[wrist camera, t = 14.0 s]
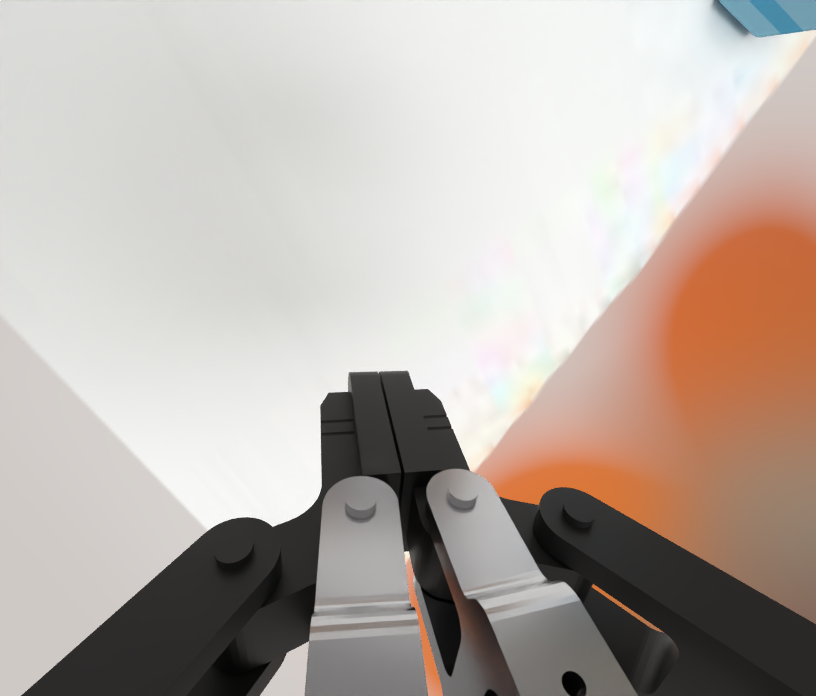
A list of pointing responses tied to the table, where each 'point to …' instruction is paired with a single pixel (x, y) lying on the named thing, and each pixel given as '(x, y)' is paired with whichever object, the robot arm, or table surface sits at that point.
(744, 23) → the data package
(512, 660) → the robot arm
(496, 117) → the table surface
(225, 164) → the table surface
